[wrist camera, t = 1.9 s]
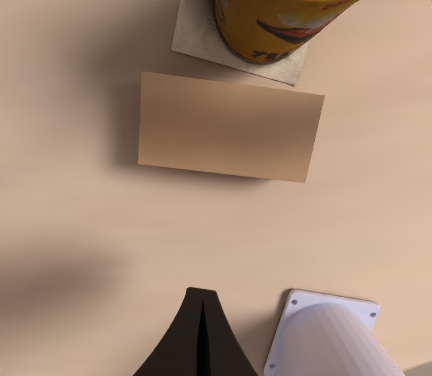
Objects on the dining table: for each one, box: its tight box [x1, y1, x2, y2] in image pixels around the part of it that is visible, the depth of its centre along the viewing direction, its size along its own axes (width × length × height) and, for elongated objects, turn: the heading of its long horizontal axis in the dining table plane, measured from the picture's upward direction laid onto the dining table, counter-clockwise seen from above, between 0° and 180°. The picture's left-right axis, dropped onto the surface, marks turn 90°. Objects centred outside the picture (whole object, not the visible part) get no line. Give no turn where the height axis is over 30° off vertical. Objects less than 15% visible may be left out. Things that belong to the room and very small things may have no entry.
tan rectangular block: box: [138, 71, 325, 183], centre depth 15 cm, size 5×10×4 cm, turn 83°
